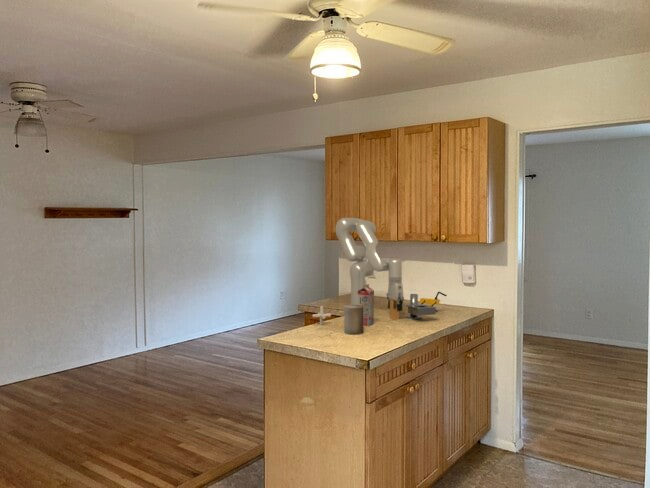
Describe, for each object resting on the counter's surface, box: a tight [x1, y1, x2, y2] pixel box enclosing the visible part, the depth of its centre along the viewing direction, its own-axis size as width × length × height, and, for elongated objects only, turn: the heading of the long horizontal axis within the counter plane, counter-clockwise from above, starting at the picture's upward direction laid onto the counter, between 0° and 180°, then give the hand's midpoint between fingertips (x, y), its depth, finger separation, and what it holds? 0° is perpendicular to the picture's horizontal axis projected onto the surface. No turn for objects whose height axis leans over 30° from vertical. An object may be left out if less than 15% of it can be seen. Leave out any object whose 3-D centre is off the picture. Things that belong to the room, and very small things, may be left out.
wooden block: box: [389, 298, 400, 320], centre depth 293 cm, size 4×4×12 cm
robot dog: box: [418, 291, 447, 313], centre depth 315 cm, size 6×18×13 cm, turn 61°
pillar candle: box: [343, 304, 364, 335], centre depth 255 cm, size 10×10×15 cm
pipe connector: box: [311, 305, 332, 326], centre depth 274 cm, size 10×10×10 cm
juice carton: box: [358, 283, 375, 327], centre depth 274 cm, size 7×7×22 cm
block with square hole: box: [404, 293, 437, 320], centre depth 292 cm, size 12×18×14 cm, turn 24°
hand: (395, 309), depth 292 cm, fingers open, 9 cm apart
